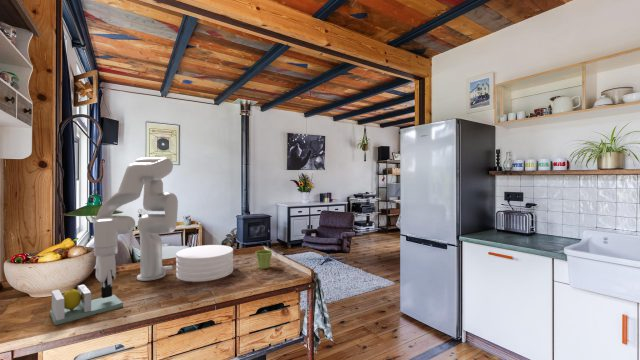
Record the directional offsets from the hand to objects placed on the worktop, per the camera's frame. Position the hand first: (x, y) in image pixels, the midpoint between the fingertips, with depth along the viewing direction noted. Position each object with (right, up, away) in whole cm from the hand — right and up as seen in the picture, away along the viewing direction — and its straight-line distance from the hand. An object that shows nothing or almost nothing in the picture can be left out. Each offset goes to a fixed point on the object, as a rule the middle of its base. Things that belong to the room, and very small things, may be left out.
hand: (106, 296), depth 118 cm
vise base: (-4, -3, -5) cm, 7 cm away
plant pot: (+53, -3, +49) cm, 72 cm away
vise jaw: (-5, -2, -5) cm, 7 cm away
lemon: (-7, -2, -8) cm, 11 cm away
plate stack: (+24, -3, +41) cm, 47 cm away
